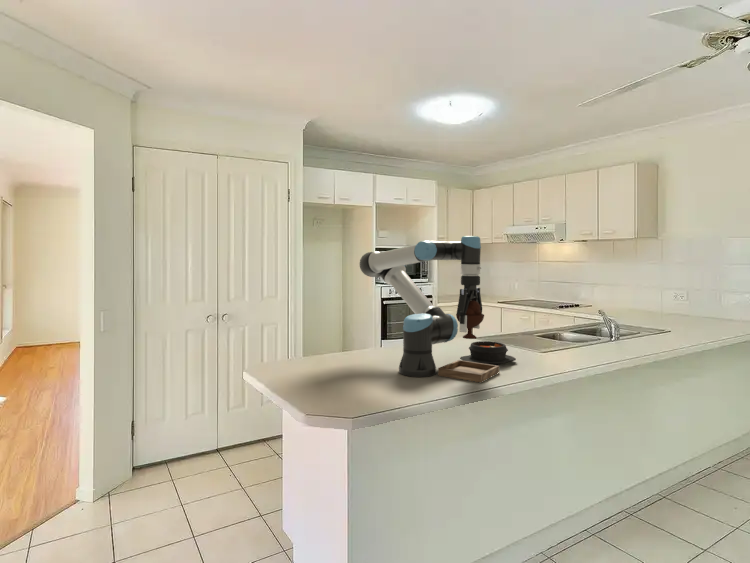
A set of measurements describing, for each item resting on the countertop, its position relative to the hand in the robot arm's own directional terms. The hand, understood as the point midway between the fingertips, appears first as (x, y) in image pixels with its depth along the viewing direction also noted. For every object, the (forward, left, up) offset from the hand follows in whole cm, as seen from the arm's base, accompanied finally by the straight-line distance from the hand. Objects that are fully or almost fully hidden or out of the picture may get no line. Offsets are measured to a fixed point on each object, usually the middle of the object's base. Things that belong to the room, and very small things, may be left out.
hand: (469, 330), depth 188 cm
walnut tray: (0, 0, -18) cm, 18 cm away
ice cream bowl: (0, 0, -3) cm, 3 cm away
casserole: (+24, +2, -18) cm, 30 cm away
